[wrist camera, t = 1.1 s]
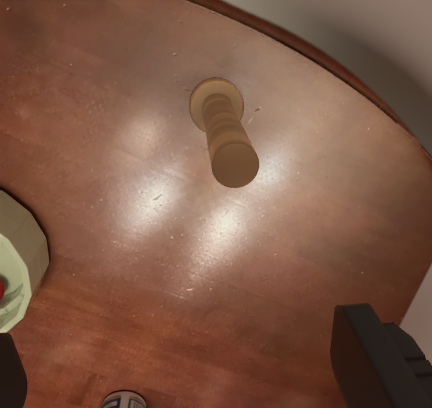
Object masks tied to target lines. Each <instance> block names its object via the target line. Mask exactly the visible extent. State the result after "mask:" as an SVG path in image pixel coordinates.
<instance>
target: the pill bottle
mask: <svg viewBox="0 0 432 408" xmlns="http://www.w3.org/2000/svg"><path fill="white" fill-rule="evenodd" d="M101 408H146V403H145V401H144V399H143V398H142V397H141V396H139V395H138V394H136V393H133V392H127V391H121V392H116V393H113V394H111V395H109V396H108V397H106V398H105V400H104V401H103V403H102V407H101Z"/></svg>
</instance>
